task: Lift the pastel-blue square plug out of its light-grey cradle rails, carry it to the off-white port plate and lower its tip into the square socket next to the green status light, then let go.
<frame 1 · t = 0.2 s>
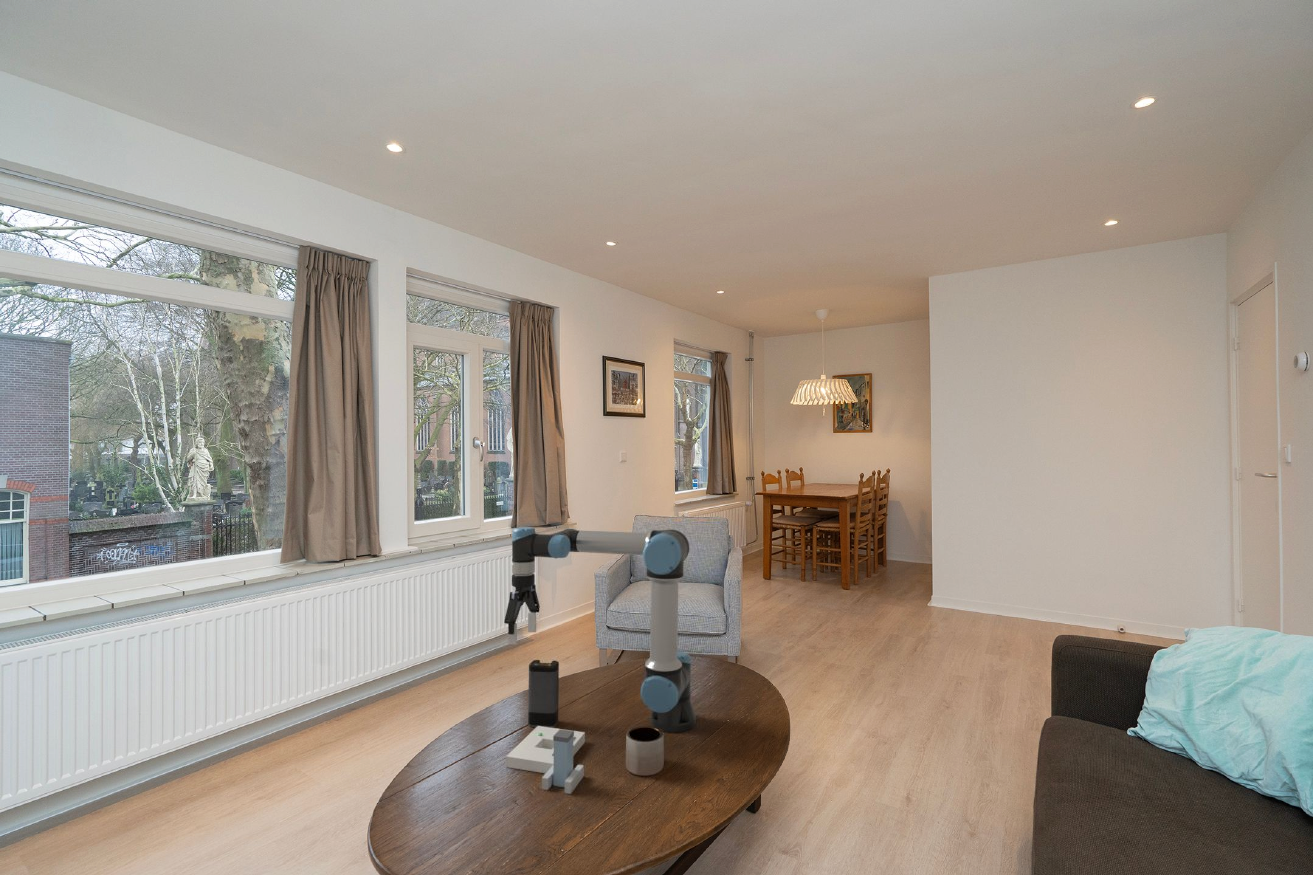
hand: (522, 637, 202), 28 cm above the table, fingers open, 13 cm apart
plug: (563, 782, 164), on the table
electronic device: (543, 724, 200), on the table
cradle: (563, 782, 164), on the table
port plate: (547, 753, 180), on the table
planter: (644, 767, 173), on the table
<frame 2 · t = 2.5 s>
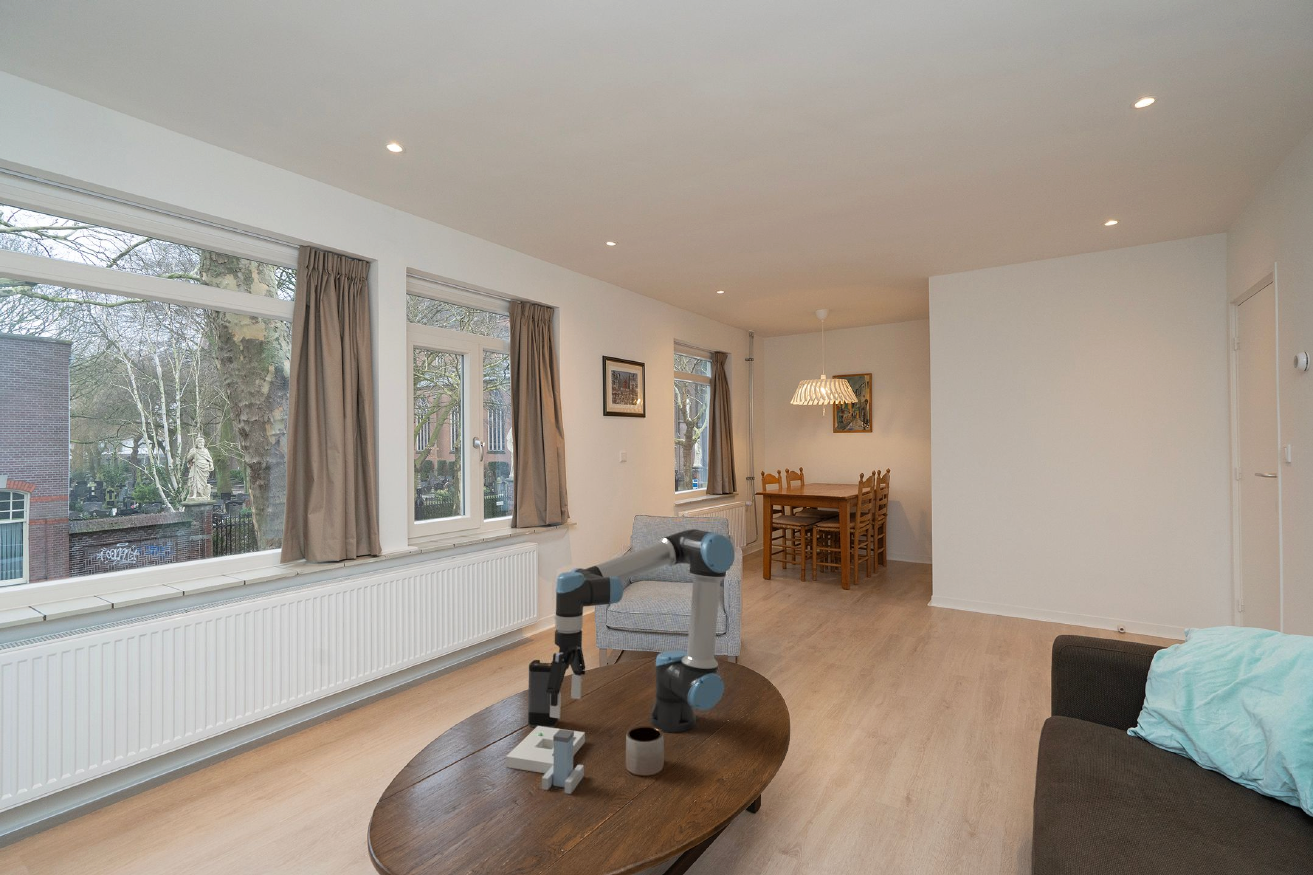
hand: (565, 707, 167), 19 cm above the table, fingers open, 13 cm apart
nothing on the table moved.
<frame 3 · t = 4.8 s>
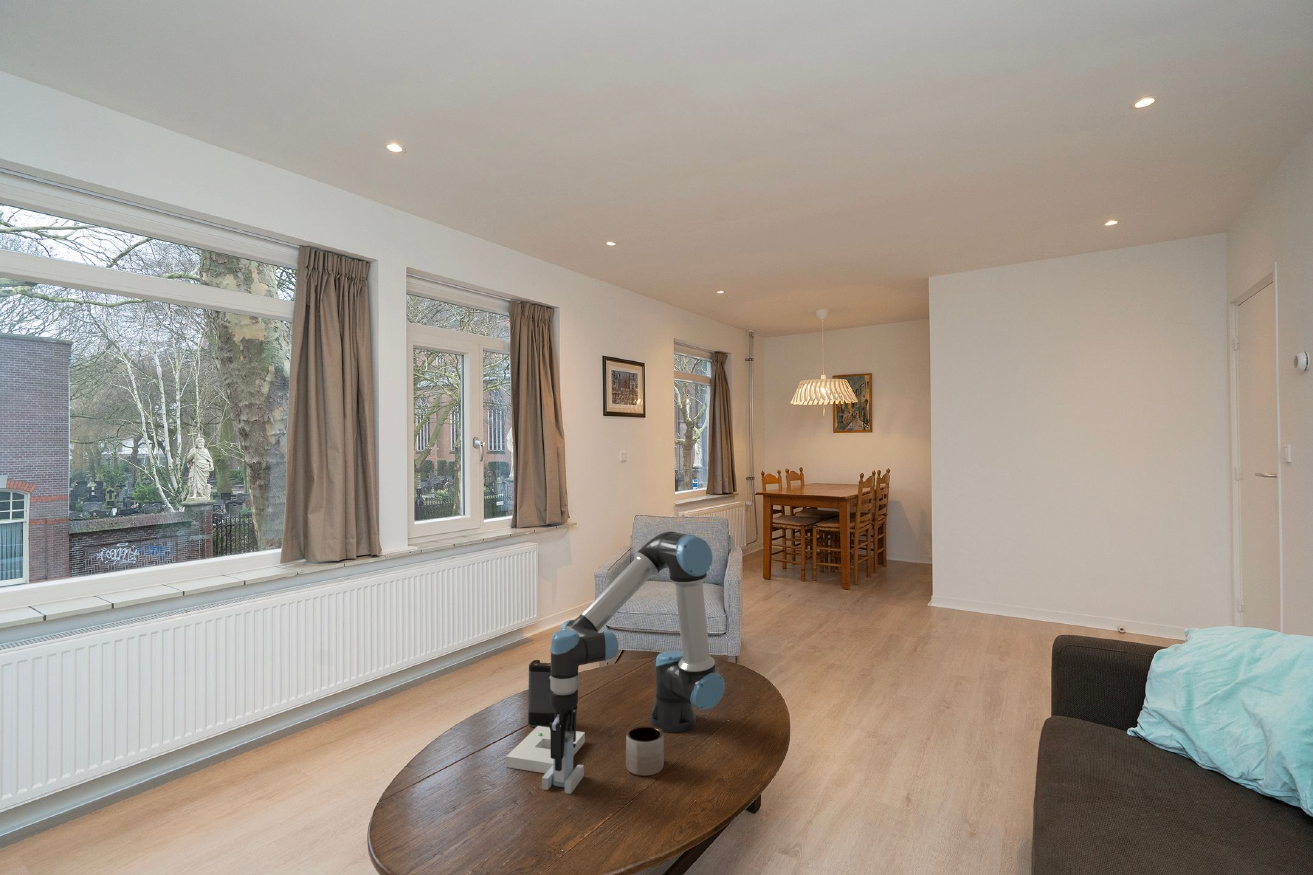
hand: (563, 776, 164), 2 cm above the table, fingers closed on plug, 4 cm apart
plug: (563, 782, 164), on the table, touching gripper
everything else where it was.
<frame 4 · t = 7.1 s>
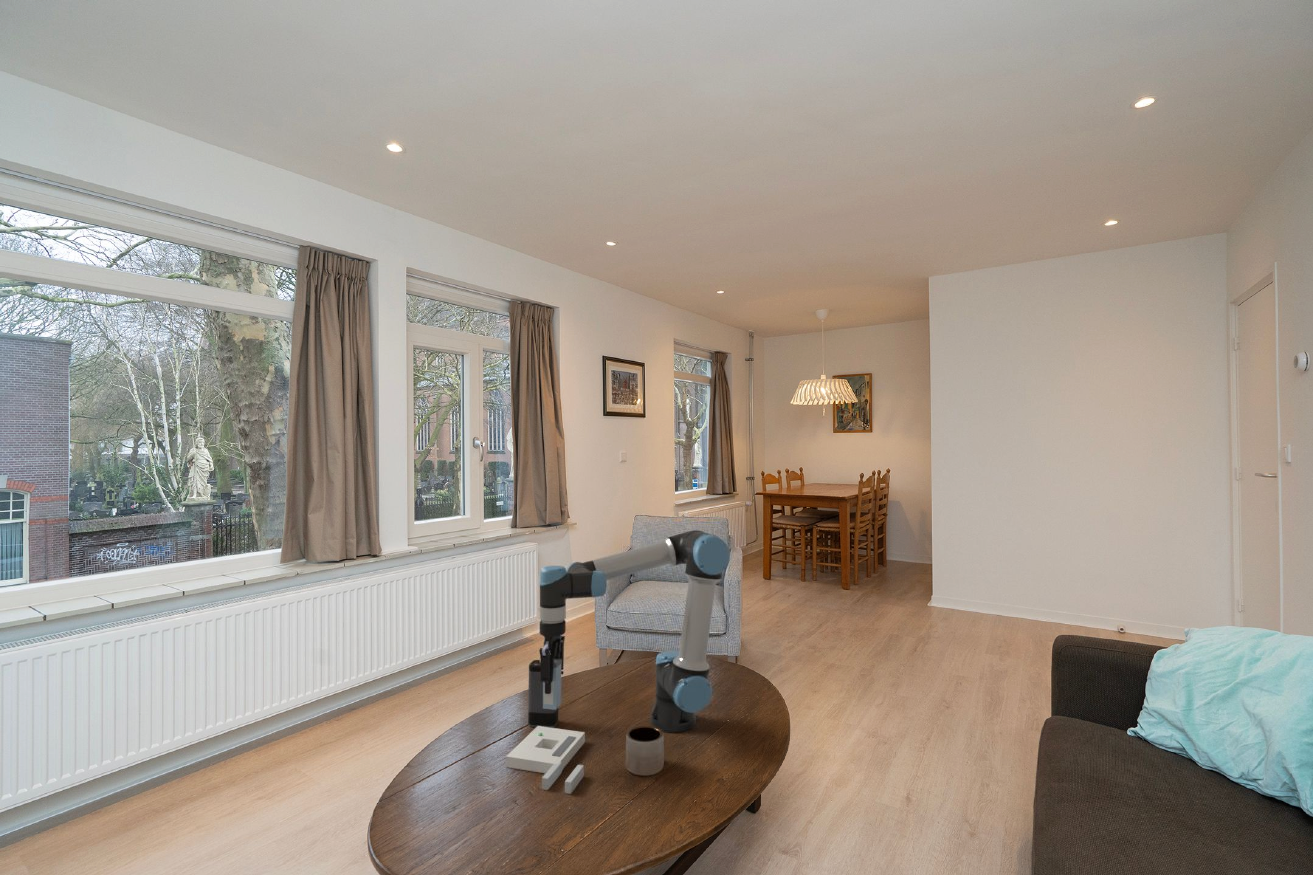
hand: (552, 700, 176), 17 cm above the table, fingers closed on plug, 4 cm apart
plug: (552, 706, 176), point 16 cm above the table, touching gripper
everything else where it was.
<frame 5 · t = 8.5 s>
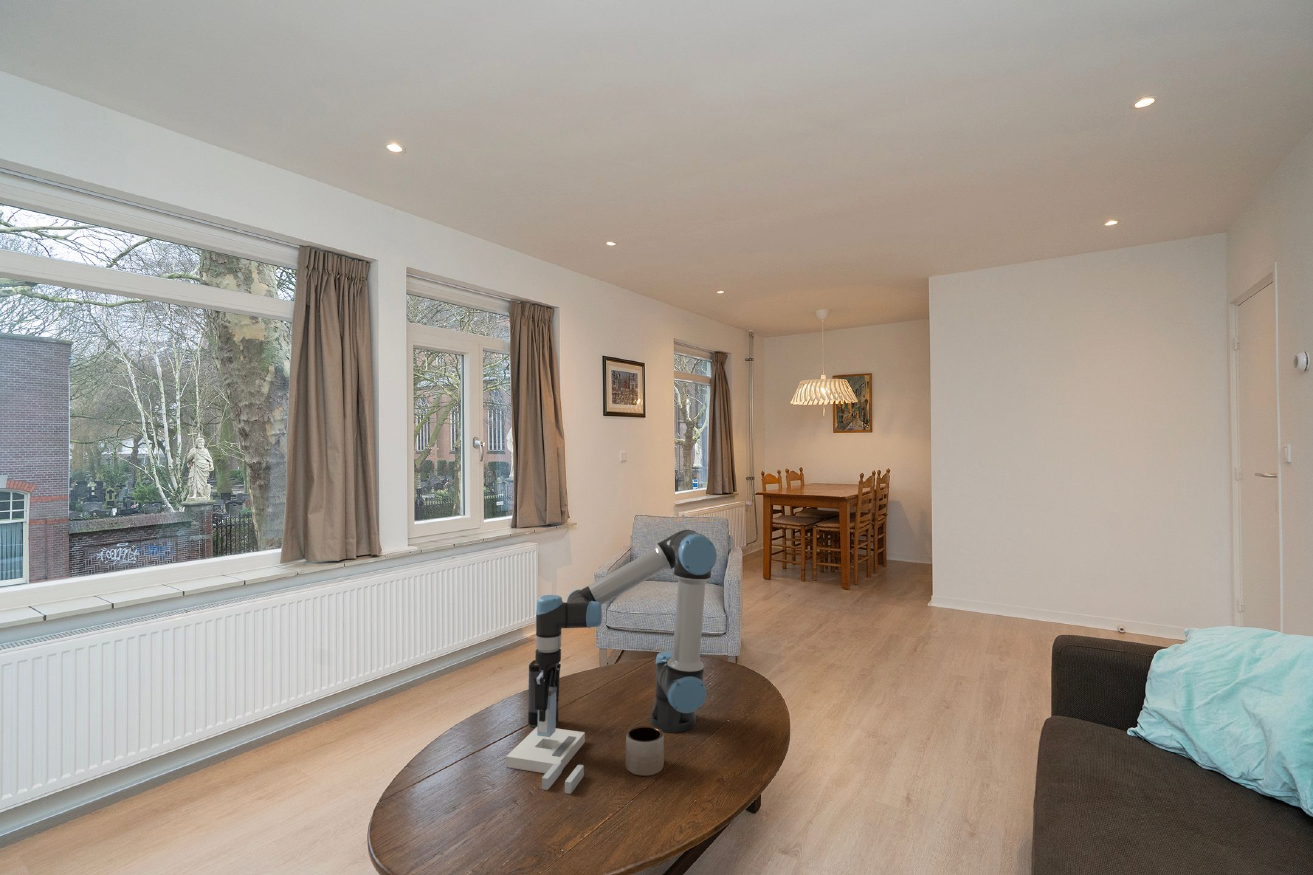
hand: (546, 727, 180), 8 cm above the table, fingers closed on plug, 4 cm apart
plug: (546, 733, 180), point 6 cm above the table, touching gripper
everything else where it was.
when the fingers open (4 cm above the table, at t = 9.5 s): plug drops 2 cm, on the table.
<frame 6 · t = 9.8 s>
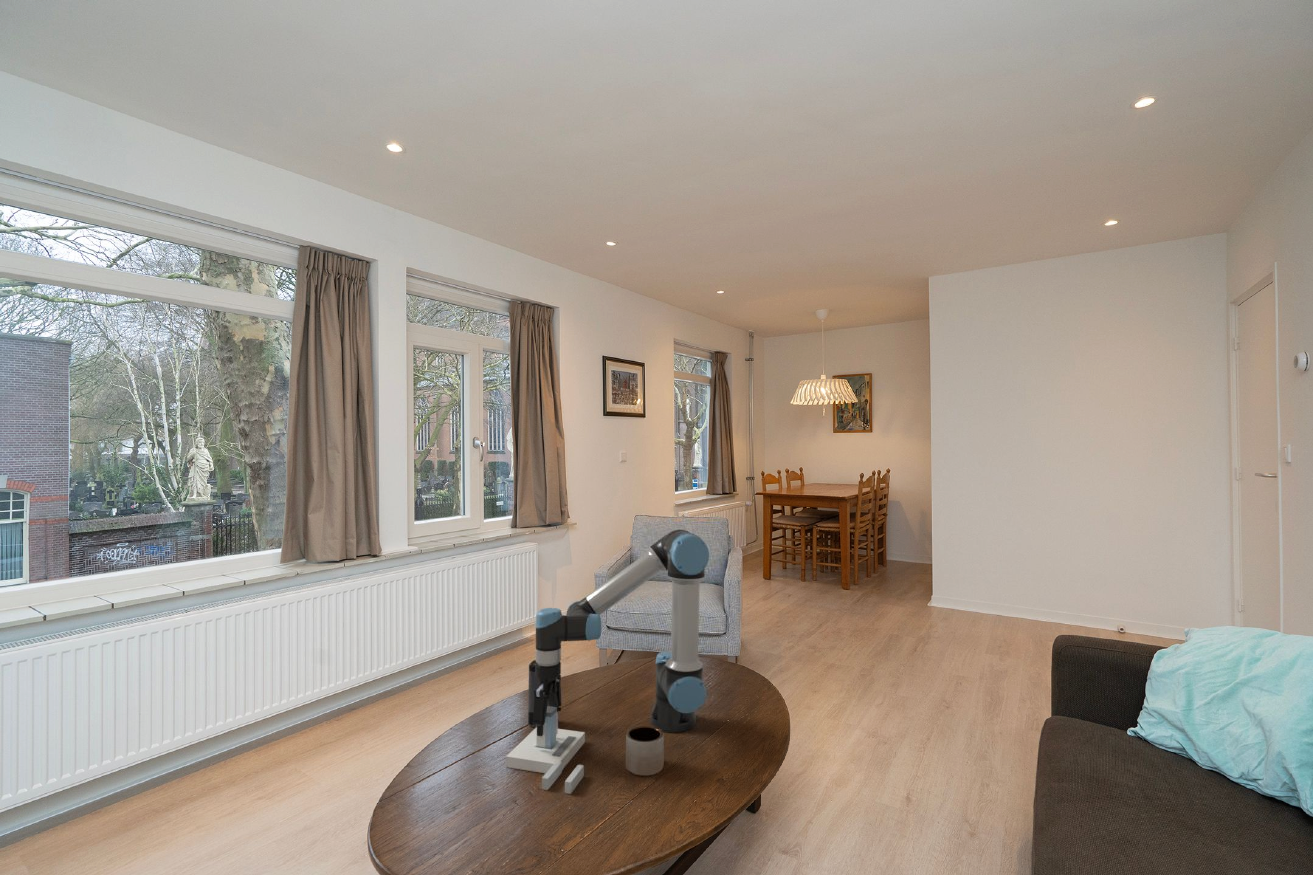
hand: (547, 739, 180), 4 cm above the table, fingers open, 7 cm apart
plug: (546, 753, 180), on the table
everything else where it was.
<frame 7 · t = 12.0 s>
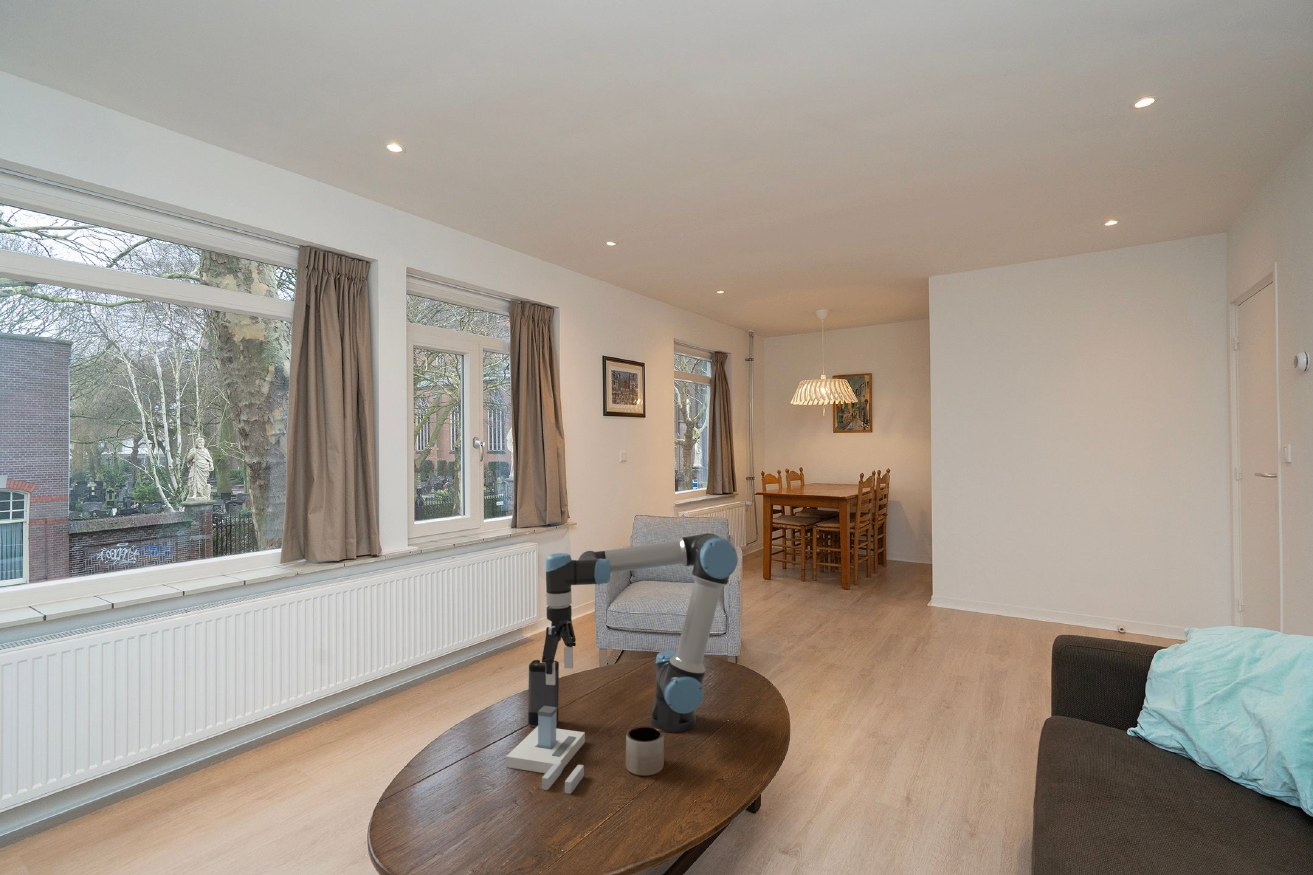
hand: (559, 675, 183), 22 cm above the table, fingers open, 13 cm apart
nothing on the table moved.
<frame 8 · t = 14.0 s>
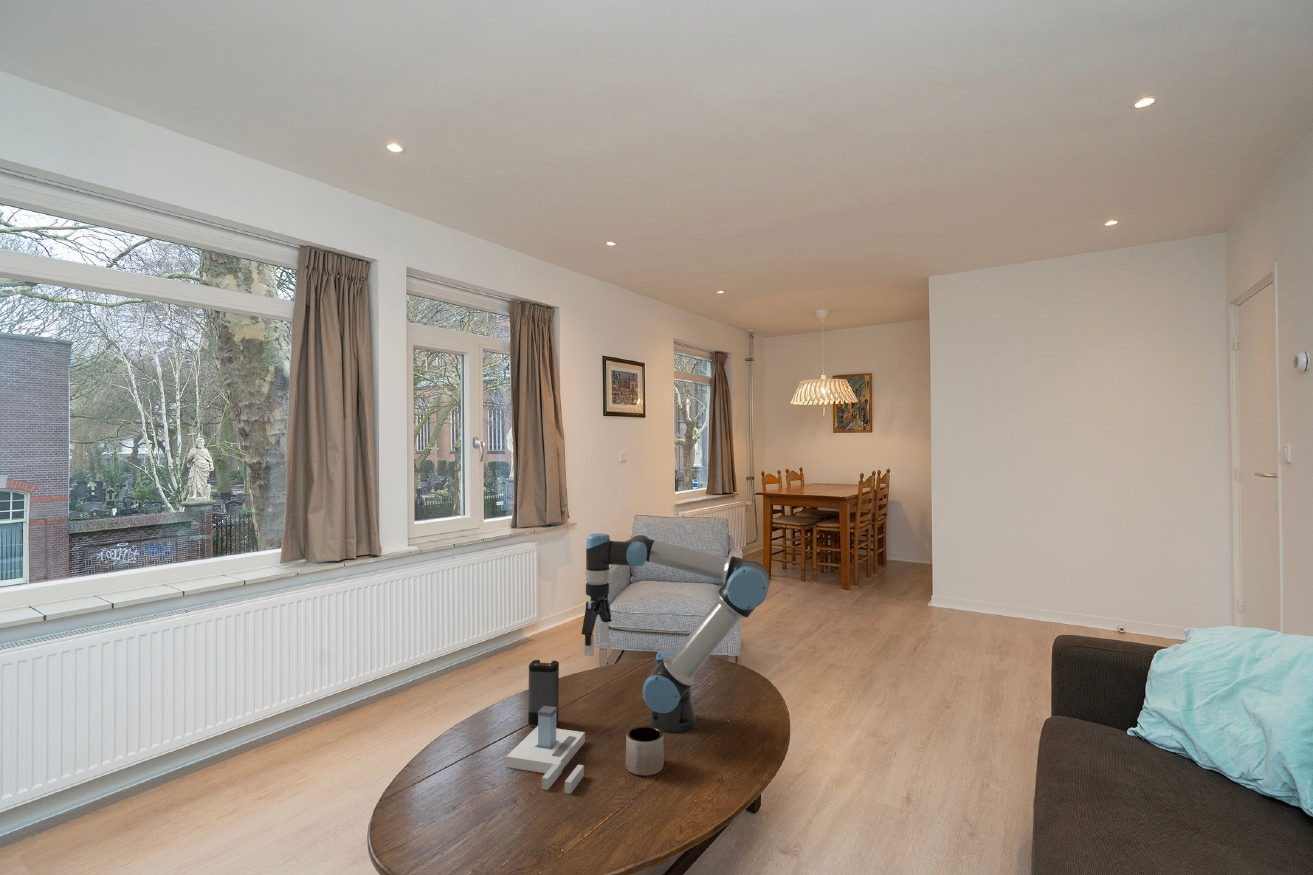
hand: (596, 648, 194), 27 cm above the table, fingers open, 13 cm apart
nothing on the table moved.
at the end: plug 0.0 cm off-centre in the port plate, point 0.0 cm above the port plate's base; plug tilted 0°; the gripper is holding nothing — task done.
